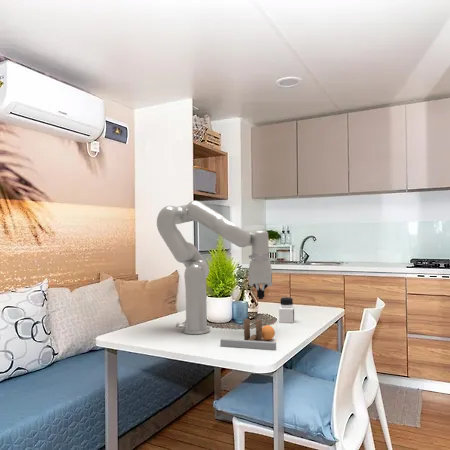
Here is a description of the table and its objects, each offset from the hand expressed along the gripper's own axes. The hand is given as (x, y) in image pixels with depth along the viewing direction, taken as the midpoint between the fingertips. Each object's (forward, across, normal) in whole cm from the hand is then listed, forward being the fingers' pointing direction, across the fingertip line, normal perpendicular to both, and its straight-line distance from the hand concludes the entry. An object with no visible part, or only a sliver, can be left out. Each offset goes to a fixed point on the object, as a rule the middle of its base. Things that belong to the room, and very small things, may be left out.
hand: (260, 298), depth 187 cm
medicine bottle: (+15, +8, +26) cm, 31 cm away
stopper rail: (+15, 0, -25) cm, 29 cm away
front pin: (+14, 0, -14) cm, 19 cm away
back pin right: (+15, +2, -16) cm, 22 cm away
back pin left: (+15, -2, -16) cm, 22 cm away
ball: (+12, +5, -12) cm, 18 cm away
